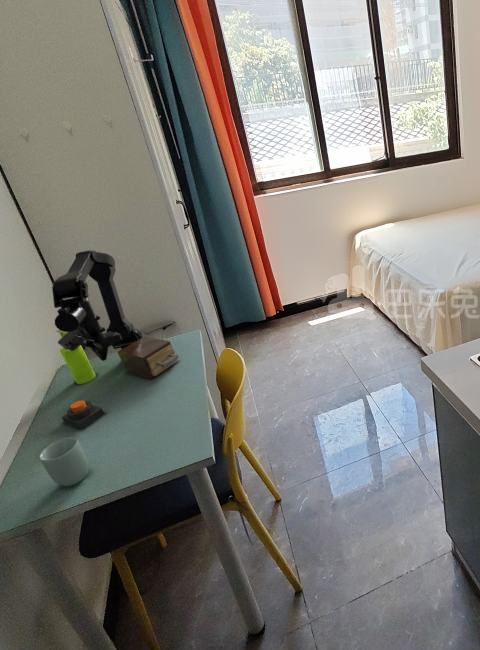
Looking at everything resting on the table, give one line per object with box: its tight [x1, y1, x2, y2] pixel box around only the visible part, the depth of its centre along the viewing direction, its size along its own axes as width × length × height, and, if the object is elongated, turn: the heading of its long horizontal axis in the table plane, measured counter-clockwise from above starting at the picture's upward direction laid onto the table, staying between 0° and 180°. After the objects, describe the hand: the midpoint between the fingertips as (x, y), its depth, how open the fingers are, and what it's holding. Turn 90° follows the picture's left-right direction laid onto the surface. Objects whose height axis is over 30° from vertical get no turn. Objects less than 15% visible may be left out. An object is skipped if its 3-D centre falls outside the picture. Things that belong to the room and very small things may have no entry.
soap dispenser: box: [56, 329, 97, 385], centre depth 150 cm, size 6×7×20 cm
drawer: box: [146, 344, 180, 377], centre depth 153 cm, size 17×9×7 cm, turn 65°
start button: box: [69, 399, 87, 413], centre depth 132 cm, size 4×4×2 cm
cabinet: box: [116, 336, 178, 380], centre depth 155 cm, size 14×11×9 cm
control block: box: [60, 400, 106, 430], centre depth 133 cm, size 9×7×4 cm
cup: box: [38, 436, 90, 487], centre depth 109 cm, size 8×8×10 cm
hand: (104, 360), depth 140 cm, fingers closed
